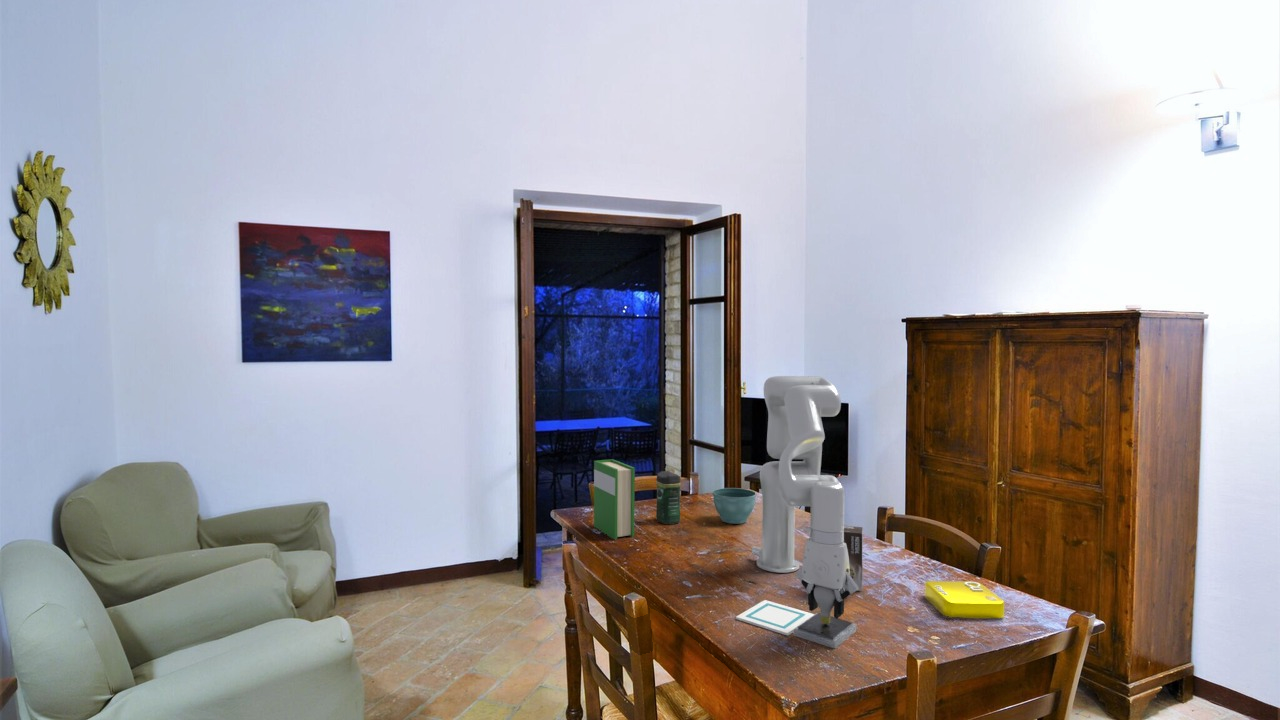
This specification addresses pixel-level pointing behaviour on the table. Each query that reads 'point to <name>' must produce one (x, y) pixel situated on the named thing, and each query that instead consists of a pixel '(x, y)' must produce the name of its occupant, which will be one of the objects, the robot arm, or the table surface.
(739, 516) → the flower pot
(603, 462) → the hardback book
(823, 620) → the light bulb
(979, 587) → the element tile
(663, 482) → the coffee jar
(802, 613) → the marked board
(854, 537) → the coffee box
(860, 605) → the table surface
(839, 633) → the ink pad
